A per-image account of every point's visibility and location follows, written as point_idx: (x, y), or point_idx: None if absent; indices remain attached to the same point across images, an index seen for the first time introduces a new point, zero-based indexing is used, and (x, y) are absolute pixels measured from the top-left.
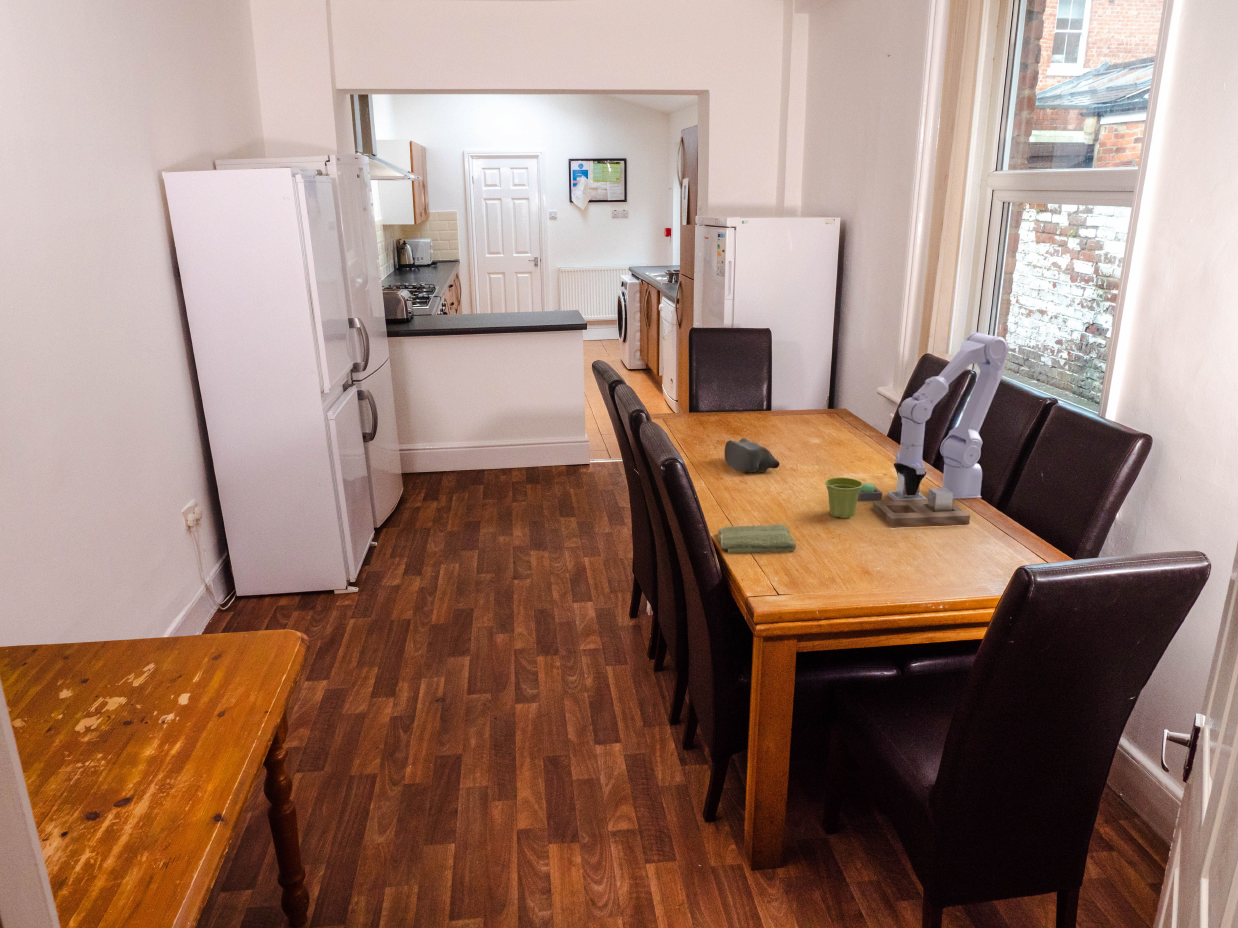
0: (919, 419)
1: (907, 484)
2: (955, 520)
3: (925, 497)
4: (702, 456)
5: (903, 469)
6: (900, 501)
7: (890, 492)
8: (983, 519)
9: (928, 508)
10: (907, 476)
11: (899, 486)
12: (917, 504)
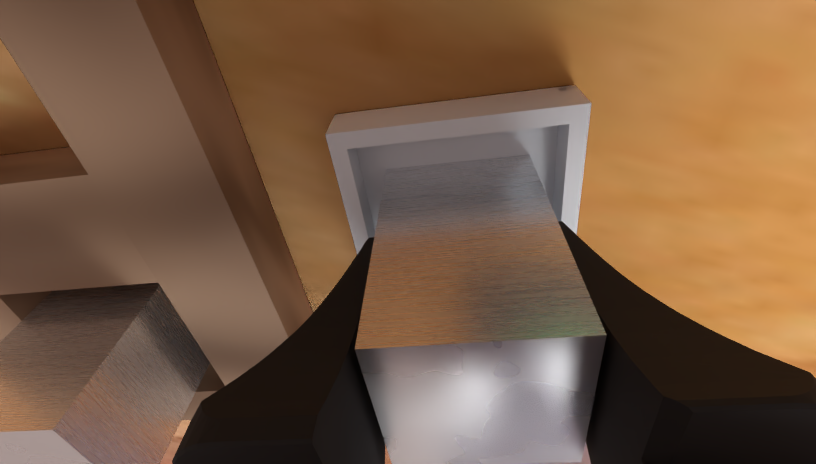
0: None
1: (327, 303)
2: None
3: None
4: None
5: (616, 417)
6: (161, 131)
7: (551, 120)
8: None
9: (63, 288)
10: (223, 388)
11: (480, 224)
12: (129, 245)
